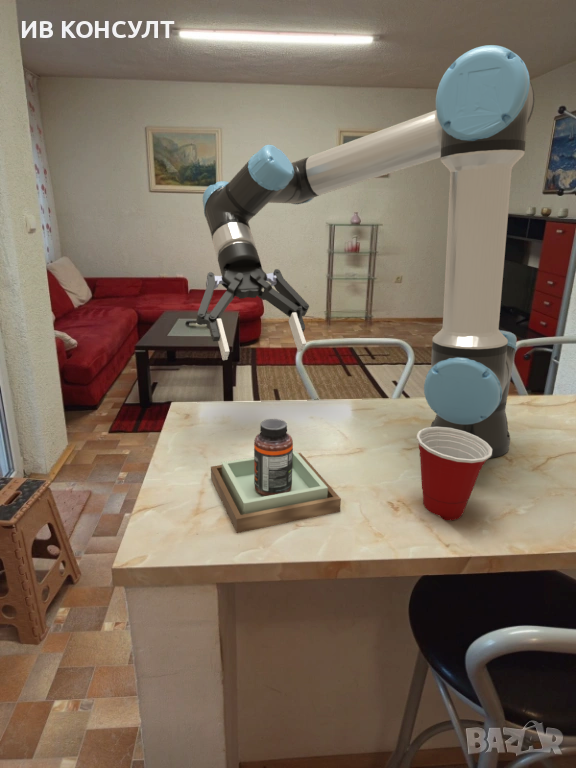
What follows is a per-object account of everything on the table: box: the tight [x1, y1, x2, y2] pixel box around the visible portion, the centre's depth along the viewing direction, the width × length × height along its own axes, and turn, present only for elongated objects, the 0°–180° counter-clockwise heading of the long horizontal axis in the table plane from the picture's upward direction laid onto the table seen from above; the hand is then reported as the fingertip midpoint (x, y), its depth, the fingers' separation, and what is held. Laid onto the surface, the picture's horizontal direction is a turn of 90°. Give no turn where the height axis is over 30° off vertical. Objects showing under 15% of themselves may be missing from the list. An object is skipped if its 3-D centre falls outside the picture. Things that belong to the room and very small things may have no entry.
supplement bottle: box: [253, 418, 294, 496], centre depth 79 cm, size 6×6×11 cm
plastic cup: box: [416, 426, 492, 521], centre depth 77 cm, size 11×11×12 cm
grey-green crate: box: [221, 450, 328, 515], centre depth 81 cm, size 13×13×4 cm
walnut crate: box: [210, 452, 342, 534], centre depth 81 cm, size 16×16×3 cm
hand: (265, 351), depth 87 cm, fingers open, 13 cm apart
